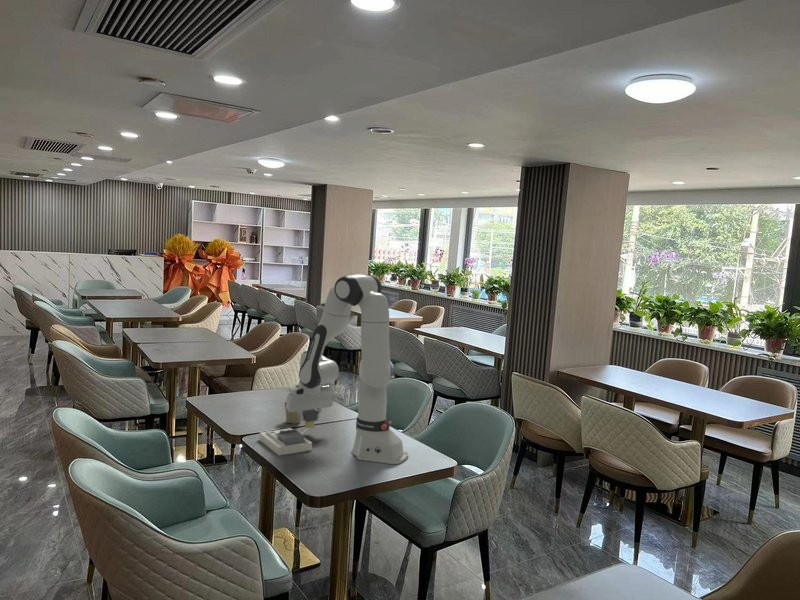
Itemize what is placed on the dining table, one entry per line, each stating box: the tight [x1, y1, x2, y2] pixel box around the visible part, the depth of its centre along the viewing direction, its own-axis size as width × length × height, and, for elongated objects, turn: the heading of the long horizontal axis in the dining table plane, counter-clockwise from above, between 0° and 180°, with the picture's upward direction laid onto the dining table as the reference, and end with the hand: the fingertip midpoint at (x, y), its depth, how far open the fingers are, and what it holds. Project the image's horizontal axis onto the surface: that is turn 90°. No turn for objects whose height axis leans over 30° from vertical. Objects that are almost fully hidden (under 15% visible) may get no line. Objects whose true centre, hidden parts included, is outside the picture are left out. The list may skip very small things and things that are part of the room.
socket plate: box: [258, 427, 313, 456], centre depth 235 cm, size 20×14×4 cm
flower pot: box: [283, 400, 301, 424], centre depth 266 cm, size 9×9×9 cm
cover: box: [278, 428, 305, 445], centre depth 231 cm, size 7×8×3 cm
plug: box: [302, 409, 319, 429], centre depth 250 cm, size 5×5×7 cm
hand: (309, 419), depth 250 cm, fingers closed on plug, 5 cm apart
